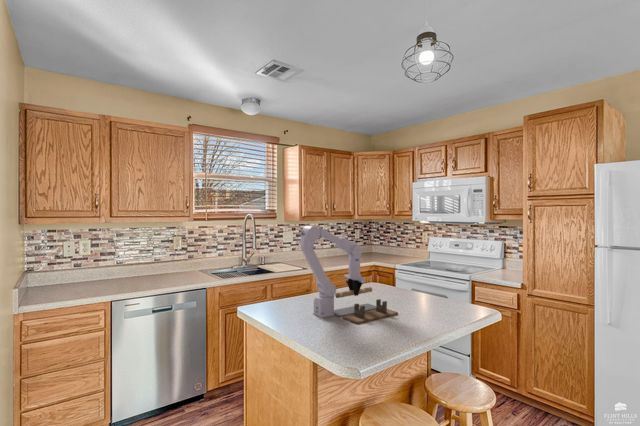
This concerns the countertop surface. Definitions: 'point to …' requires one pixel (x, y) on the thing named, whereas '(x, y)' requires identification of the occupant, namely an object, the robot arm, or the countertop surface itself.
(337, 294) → the rail
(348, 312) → the mat
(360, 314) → the hook stand
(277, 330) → the countertop surface
